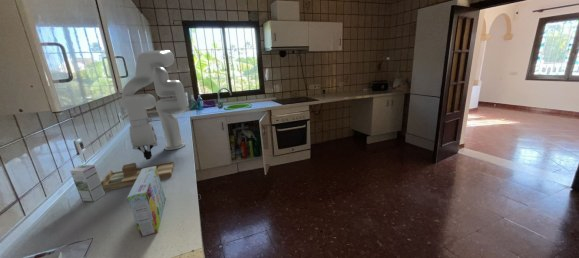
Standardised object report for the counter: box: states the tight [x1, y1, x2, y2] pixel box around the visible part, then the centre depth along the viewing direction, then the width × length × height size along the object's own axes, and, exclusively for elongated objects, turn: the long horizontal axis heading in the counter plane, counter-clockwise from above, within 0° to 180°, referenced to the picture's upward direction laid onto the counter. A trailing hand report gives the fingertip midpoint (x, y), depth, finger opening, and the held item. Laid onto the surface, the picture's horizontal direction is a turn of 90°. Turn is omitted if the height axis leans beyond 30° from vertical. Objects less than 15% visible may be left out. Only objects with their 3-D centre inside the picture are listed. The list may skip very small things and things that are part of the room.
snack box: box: [126, 166, 167, 238], centre depth 82 cm, size 21×6×15 cm, turn 21°
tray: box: [100, 160, 175, 192], centre depth 114 cm, size 14×28×4 cm, turn 110°
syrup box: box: [69, 164, 106, 203], centre depth 97 cm, size 6×6×14 cm
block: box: [121, 162, 138, 176], centre depth 115 cm, size 5×5×4 cm
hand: (148, 158), depth 116 cm, fingers closed
